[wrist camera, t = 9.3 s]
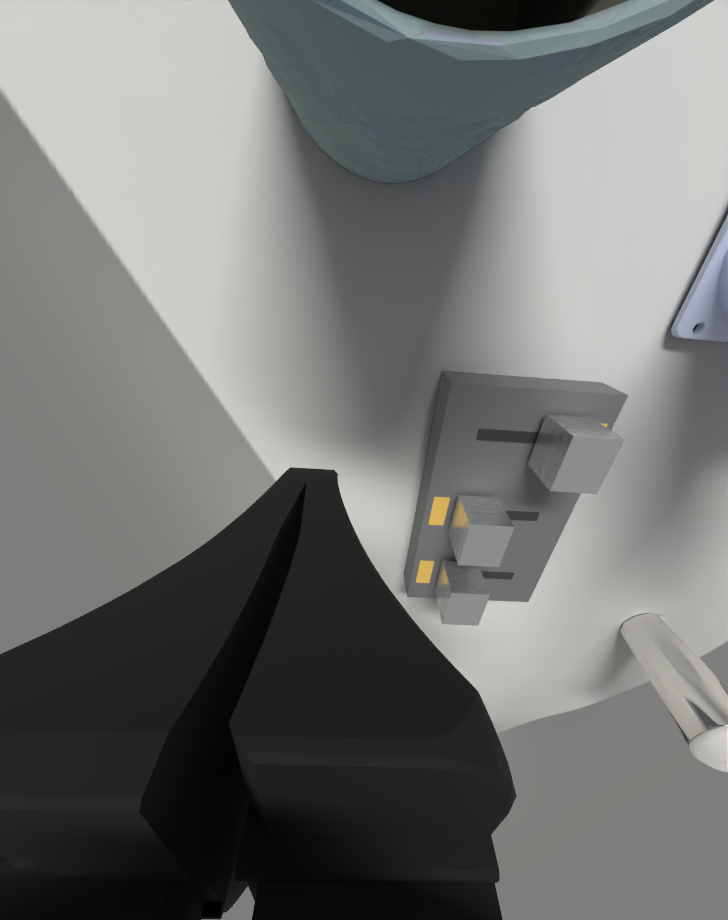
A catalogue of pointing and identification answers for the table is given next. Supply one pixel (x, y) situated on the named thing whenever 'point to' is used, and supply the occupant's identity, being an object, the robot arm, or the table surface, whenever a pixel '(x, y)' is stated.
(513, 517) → the switch panel
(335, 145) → the teal plant pot
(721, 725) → the milkshake
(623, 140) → the table surface
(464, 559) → the knob
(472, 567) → the knob
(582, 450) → the knob
